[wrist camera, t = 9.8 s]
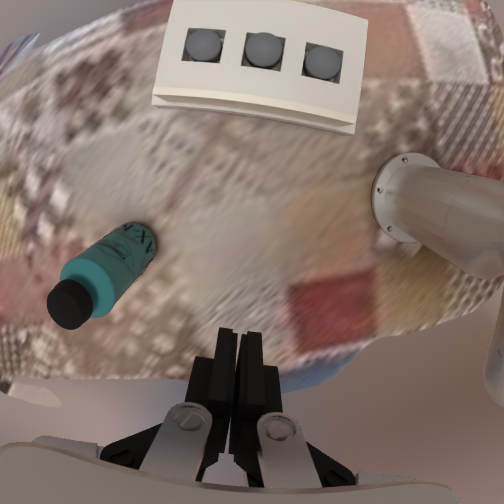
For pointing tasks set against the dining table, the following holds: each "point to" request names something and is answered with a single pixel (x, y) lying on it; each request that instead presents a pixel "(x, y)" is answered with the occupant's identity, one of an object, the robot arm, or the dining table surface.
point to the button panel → (262, 80)
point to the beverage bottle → (100, 275)
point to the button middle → (263, 50)
